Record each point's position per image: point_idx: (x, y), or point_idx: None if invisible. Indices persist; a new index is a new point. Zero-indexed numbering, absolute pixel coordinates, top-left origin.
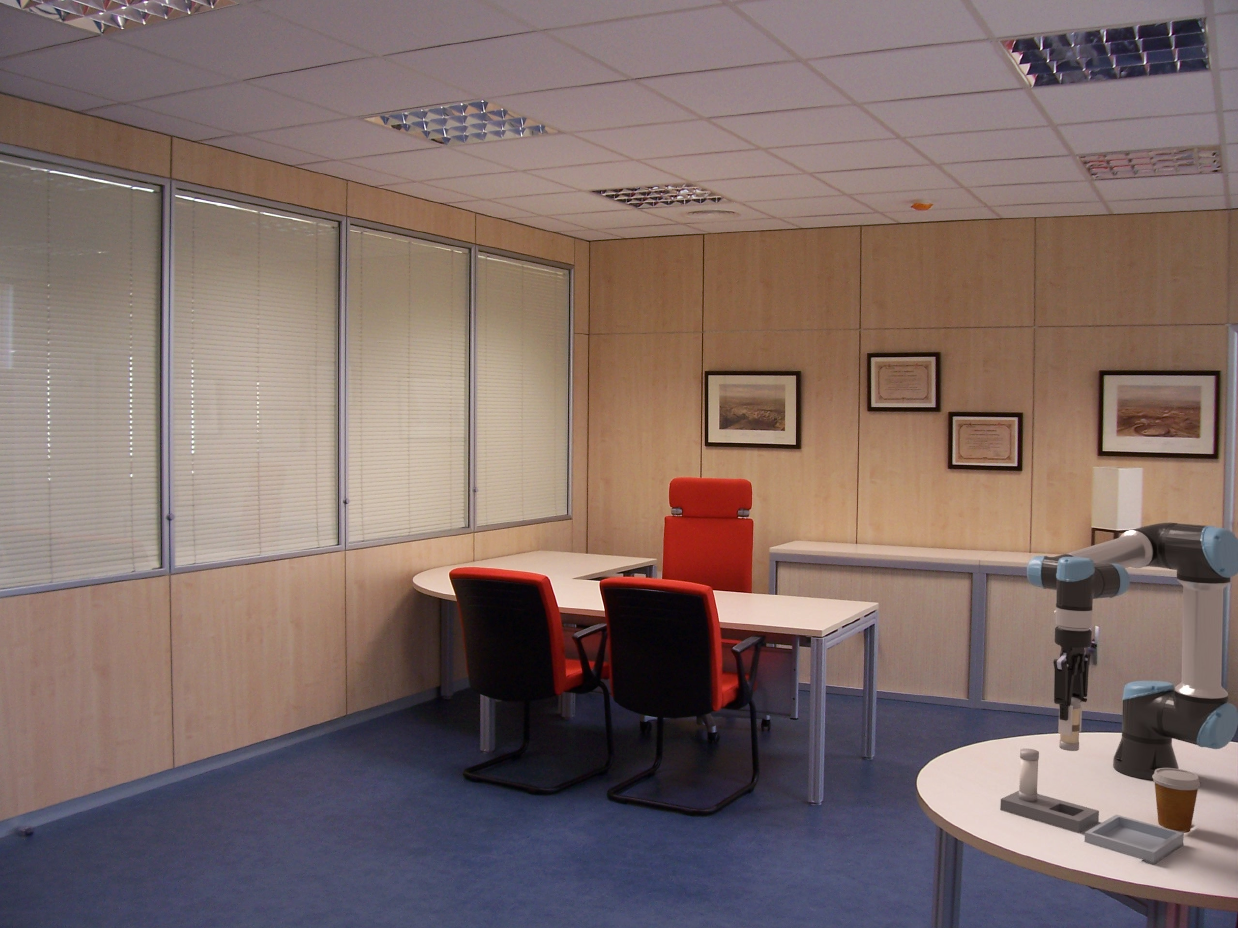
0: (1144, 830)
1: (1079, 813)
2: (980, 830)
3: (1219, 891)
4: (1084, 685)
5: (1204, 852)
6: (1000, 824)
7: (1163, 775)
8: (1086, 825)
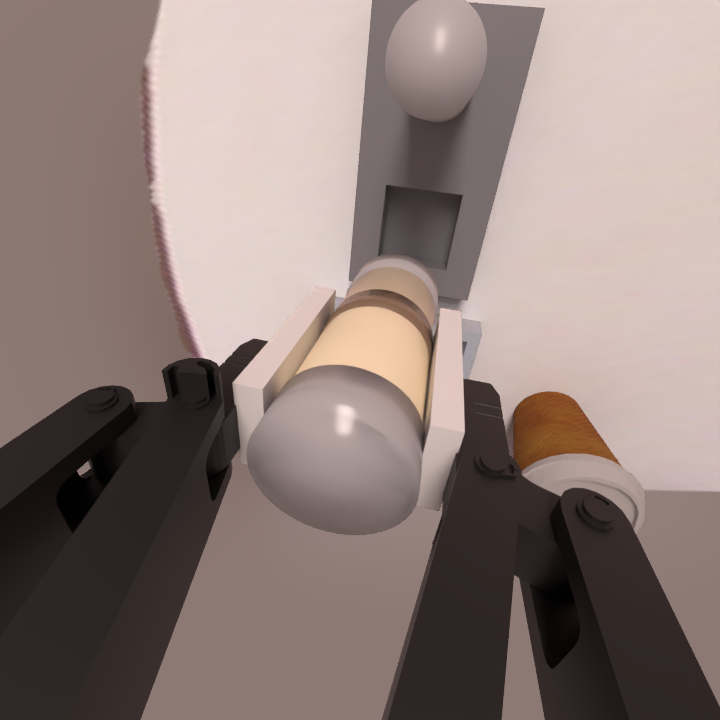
0: None
1: None
2: (192, 43)
3: None
4: (545, 691)
5: None
6: (277, 70)
7: (556, 489)
8: None
